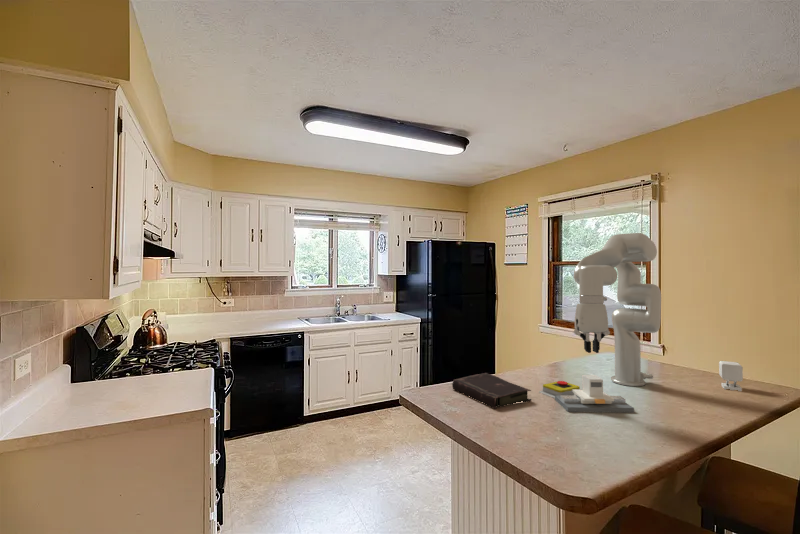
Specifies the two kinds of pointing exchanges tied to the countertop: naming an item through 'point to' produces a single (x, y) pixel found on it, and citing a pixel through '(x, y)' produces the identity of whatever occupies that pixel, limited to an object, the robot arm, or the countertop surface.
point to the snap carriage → (592, 398)
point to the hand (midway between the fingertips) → (591, 351)
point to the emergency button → (558, 389)
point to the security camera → (731, 374)
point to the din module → (592, 385)
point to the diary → (491, 390)
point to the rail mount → (593, 405)
